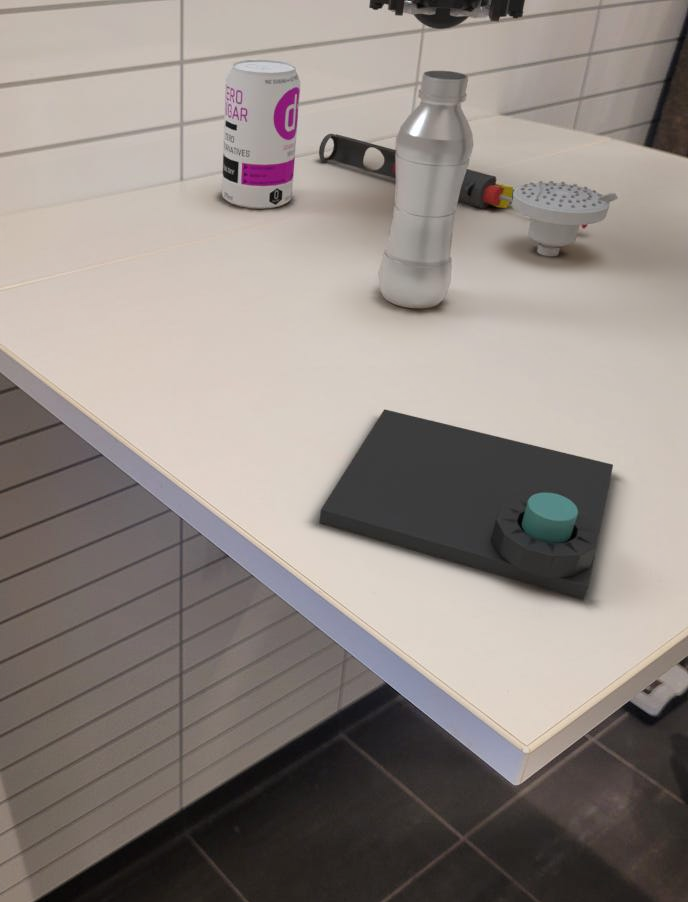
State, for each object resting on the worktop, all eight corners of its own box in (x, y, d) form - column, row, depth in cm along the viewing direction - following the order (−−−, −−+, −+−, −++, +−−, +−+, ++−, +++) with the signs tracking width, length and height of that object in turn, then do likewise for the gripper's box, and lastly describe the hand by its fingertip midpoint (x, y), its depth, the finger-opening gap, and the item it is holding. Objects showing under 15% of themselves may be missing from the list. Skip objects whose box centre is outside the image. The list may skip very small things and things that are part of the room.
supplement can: (303, 199, 113) (314, 65, 104) (268, 218, 107) (277, 77, 98) (245, 186, 116) (251, 55, 108) (208, 203, 110) (212, 66, 102)
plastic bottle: (422, 323, 84) (461, 88, 73) (360, 301, 88) (389, 73, 77) (459, 303, 88) (502, 76, 77) (398, 282, 92) (431, 63, 81)
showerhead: (619, 207, 90) (512, 194, 93) (599, 279, 94) (497, 264, 97) (618, 180, 98) (519, 168, 100) (599, 248, 102) (505, 234, 104)
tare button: (573, 523, 56) (581, 499, 55) (567, 550, 54) (575, 525, 53) (525, 510, 57) (532, 487, 56) (517, 536, 55) (524, 512, 54)
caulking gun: (363, 134, 129) (317, 131, 122) (619, 202, 107) (581, 203, 100) (356, 164, 130) (311, 163, 123) (607, 237, 109) (568, 240, 102)
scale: (607, 481, 64) (619, 444, 63) (581, 608, 54) (595, 567, 52) (381, 425, 70) (387, 389, 68) (316, 530, 59) (321, 491, 57)
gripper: (379, -63, 96) (374, -47, 83) (522, -56, 94) (540, -38, 81) (369, 18, 100) (363, 46, 87) (506, 26, 98) (521, 56, 85)
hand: (448, 5), depth 84 cm, fingers open, 8 cm apart
